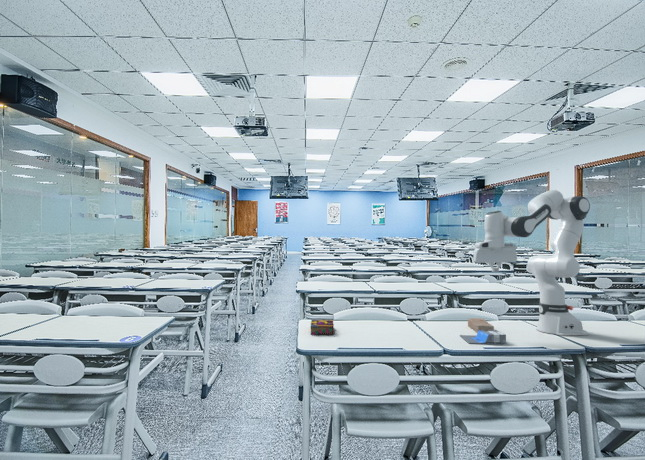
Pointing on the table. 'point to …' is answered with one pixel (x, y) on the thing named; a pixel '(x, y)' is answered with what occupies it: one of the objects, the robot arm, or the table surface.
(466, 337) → the pad
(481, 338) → the label tape cartridge
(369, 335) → the table surface
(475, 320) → the brick
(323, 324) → the decorated brown box
